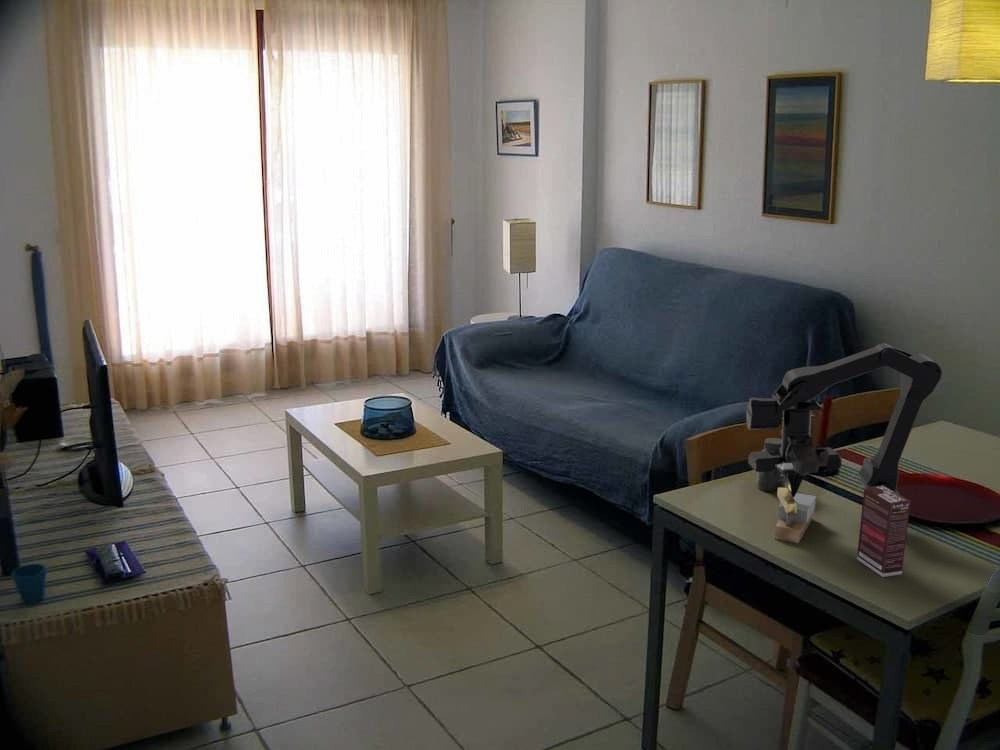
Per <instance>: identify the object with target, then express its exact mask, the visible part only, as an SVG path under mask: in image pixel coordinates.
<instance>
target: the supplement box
mask: <svg viewBox="0 0 1000 750" xmlns="http://www.w3.org/2000/svg"><path fill="white" fill-rule="evenodd" d="M899 494H900V493H899ZM899 494H897V493H896V492H894V491H892V490H890V489H888V488H887V487H885V486H873V487H866V488H863V498H862V505H861V506H862V507H861V516H860V523H859V524H860V525H859V533H858V534H859V535H858V543H857V544H858V545H857V553H856V560H857V561H859V562H860V563H862V564H863V565H865V566H866V567H868V568H869V569H870V570H872V571H873V572H875V573H877V574H878V575H879V576H881V577H882V578H887V577H888V578H889V577H893V576H900V575H902V574H903V567H904V558H905V549H906V544H907V535H908V527H909V518H910V509H911V502H912V501H911V500H910V499H908V498H906V497H905V496H903V495H901V494H900V495H899Z"/></svg>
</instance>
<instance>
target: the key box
mask: <svg viewBox="0 0 1000 750" xmlns="http://www.w3.org/2000/svg"><path fill="white" fill-rule="evenodd" d="M813 515H814V514H813V513H812V515H811V516H810V518H809V520H808V522H807V523H806V524H803V523H798V522H793V517H794V513H787V518H786V520H783V519H778V521H777V523H776V524H775V532H774V539H775V538H776V539H775V540H779V539H781V540H780V541H784V540H786V541H785V542H788V541H792V542H791V543H793V542H796V543H795V544H798V543H799V544H800V543H801V542H800V541H801V540H802V538H803V536H804V534H805V533H806V531H807V529H808V528H809V526H810V524H811V522H812V520H813Z"/></svg>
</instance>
